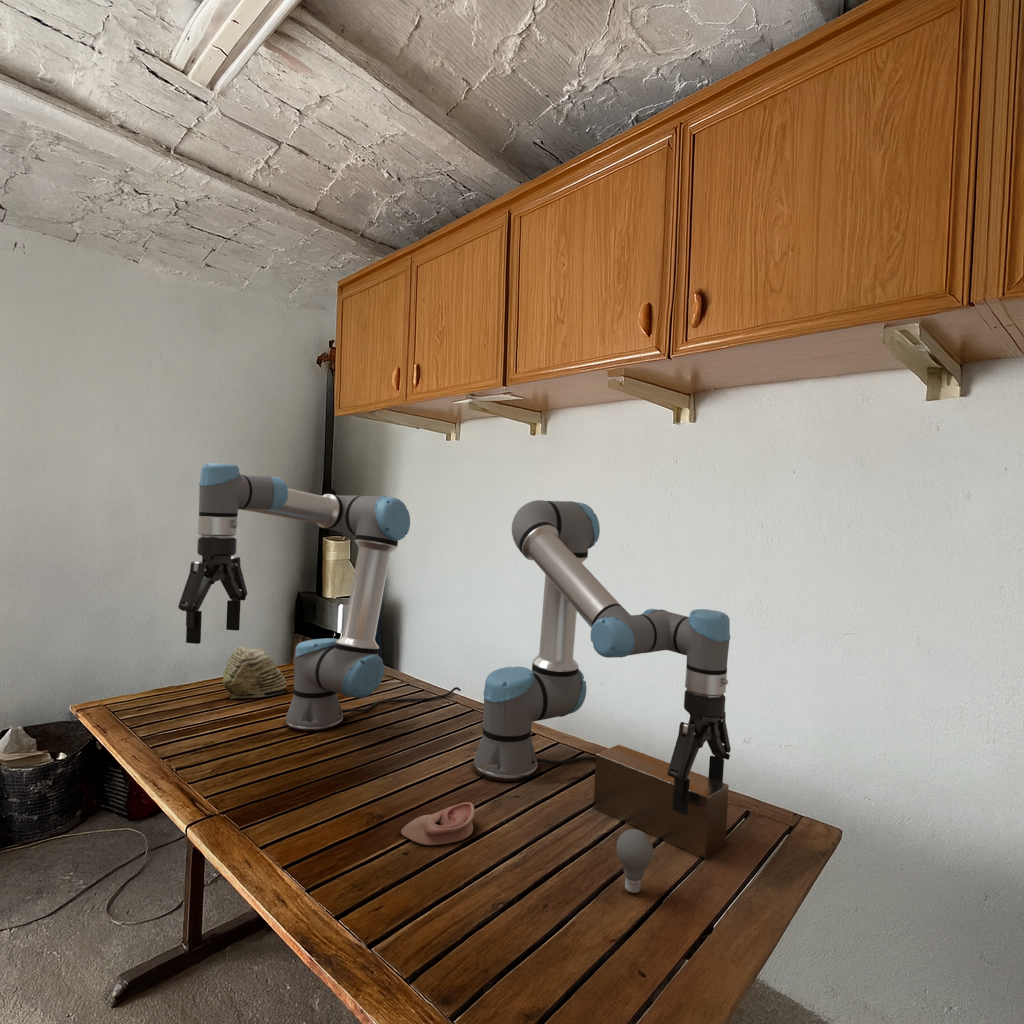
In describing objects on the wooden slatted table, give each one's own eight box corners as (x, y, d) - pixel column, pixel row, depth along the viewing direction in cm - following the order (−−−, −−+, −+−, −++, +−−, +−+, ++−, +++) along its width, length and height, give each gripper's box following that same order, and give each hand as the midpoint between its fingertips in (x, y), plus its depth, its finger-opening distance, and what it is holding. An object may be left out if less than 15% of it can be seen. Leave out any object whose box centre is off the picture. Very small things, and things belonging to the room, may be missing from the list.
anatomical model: (395, 819, 118) (416, 792, 129) (394, 840, 118) (415, 811, 129) (464, 829, 115) (479, 801, 126) (463, 851, 115) (479, 820, 126)
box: (593, 807, 134) (595, 753, 134) (616, 795, 140) (618, 744, 140) (705, 859, 116) (708, 797, 116) (725, 843, 122) (728, 784, 122)
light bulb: (610, 879, 108) (613, 822, 108) (644, 879, 109) (647, 822, 109) (619, 902, 102) (622, 840, 102) (655, 901, 103) (658, 840, 103)
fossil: (218, 695, 195) (220, 647, 195) (278, 685, 208) (279, 640, 207) (228, 703, 189) (230, 653, 188) (289, 692, 201) (290, 645, 201)
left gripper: (195, 540, 121) (191, 650, 122) (265, 534, 146) (262, 626, 146) (160, 538, 122) (156, 647, 123) (235, 533, 147) (232, 623, 148)
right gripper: (690, 710, 110) (682, 830, 110) (752, 685, 128) (745, 788, 128) (652, 699, 115) (645, 813, 116) (717, 675, 133) (710, 775, 133)
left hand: (214, 636), depth 135 cm, fingers open, 13 cm apart
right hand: (698, 800), depth 122 cm, fingers open, 13 cm apart
